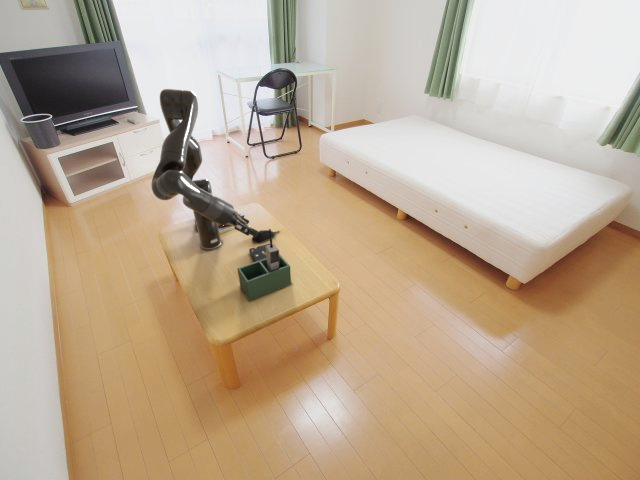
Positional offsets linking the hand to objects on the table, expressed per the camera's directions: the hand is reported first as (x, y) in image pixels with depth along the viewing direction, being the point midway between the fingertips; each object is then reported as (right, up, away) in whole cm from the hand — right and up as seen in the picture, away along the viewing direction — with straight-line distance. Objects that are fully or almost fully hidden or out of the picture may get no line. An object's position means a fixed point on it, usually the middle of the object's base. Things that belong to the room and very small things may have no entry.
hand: (252, 228), depth 121 cm
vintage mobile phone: (+6, -21, +19) cm, 29 cm away
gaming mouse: (-3, -3, +47) cm, 47 cm away
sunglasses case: (-31, +3, +55) cm, 63 cm away
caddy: (+2, -23, +18) cm, 29 cm away
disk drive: (-1, -13, +32) cm, 35 cm away
